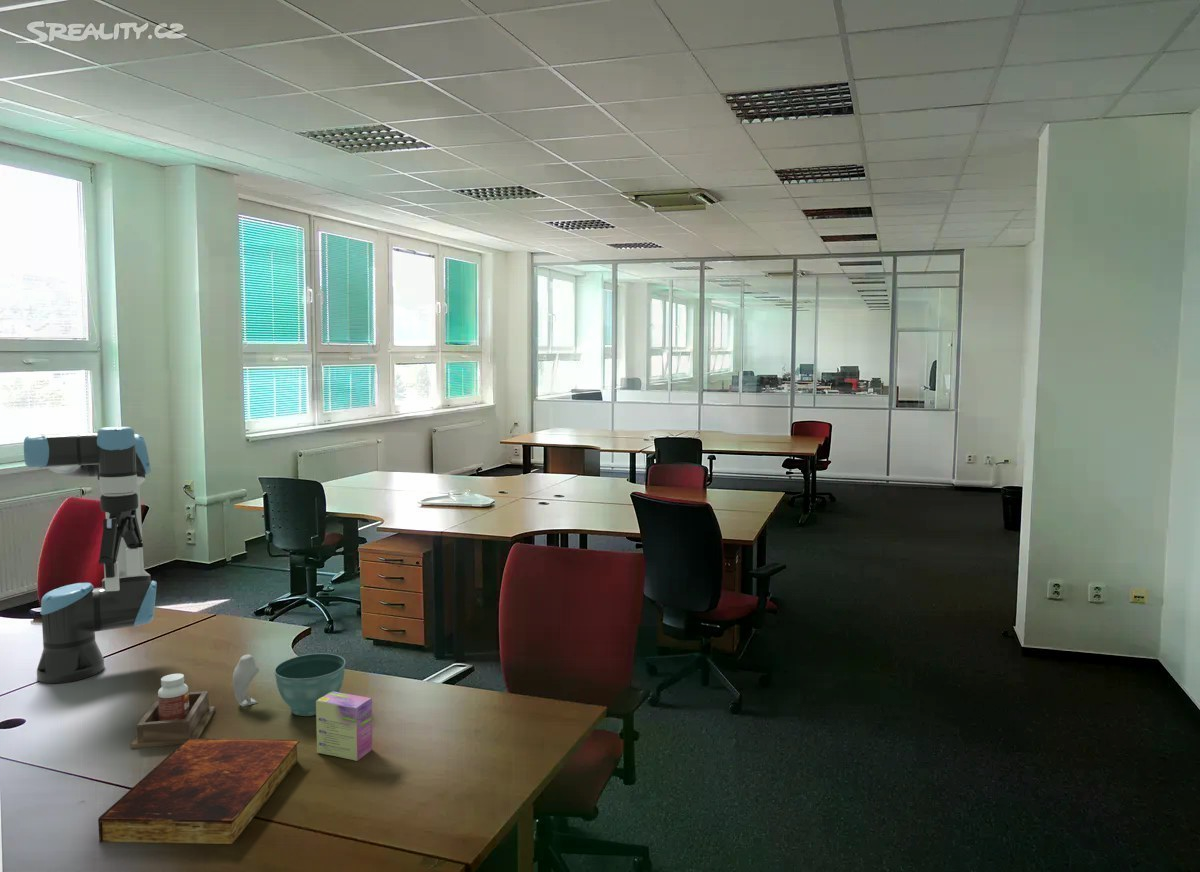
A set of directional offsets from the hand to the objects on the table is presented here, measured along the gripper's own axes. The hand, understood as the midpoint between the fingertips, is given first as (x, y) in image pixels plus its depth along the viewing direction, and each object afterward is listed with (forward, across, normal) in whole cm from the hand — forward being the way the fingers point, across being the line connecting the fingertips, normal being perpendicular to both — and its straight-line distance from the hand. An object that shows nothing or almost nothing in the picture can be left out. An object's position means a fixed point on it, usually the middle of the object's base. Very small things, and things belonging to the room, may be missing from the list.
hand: (123, 582), depth 189 cm
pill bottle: (+31, +11, +13) cm, 35 cm away
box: (+32, +30, +52) cm, 68 cm away
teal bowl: (+32, +6, +42) cm, 53 cm away
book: (+32, +44, +28) cm, 61 cm away
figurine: (+32, 0, +26) cm, 41 cm away
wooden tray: (+32, +11, +13) cm, 36 cm away
